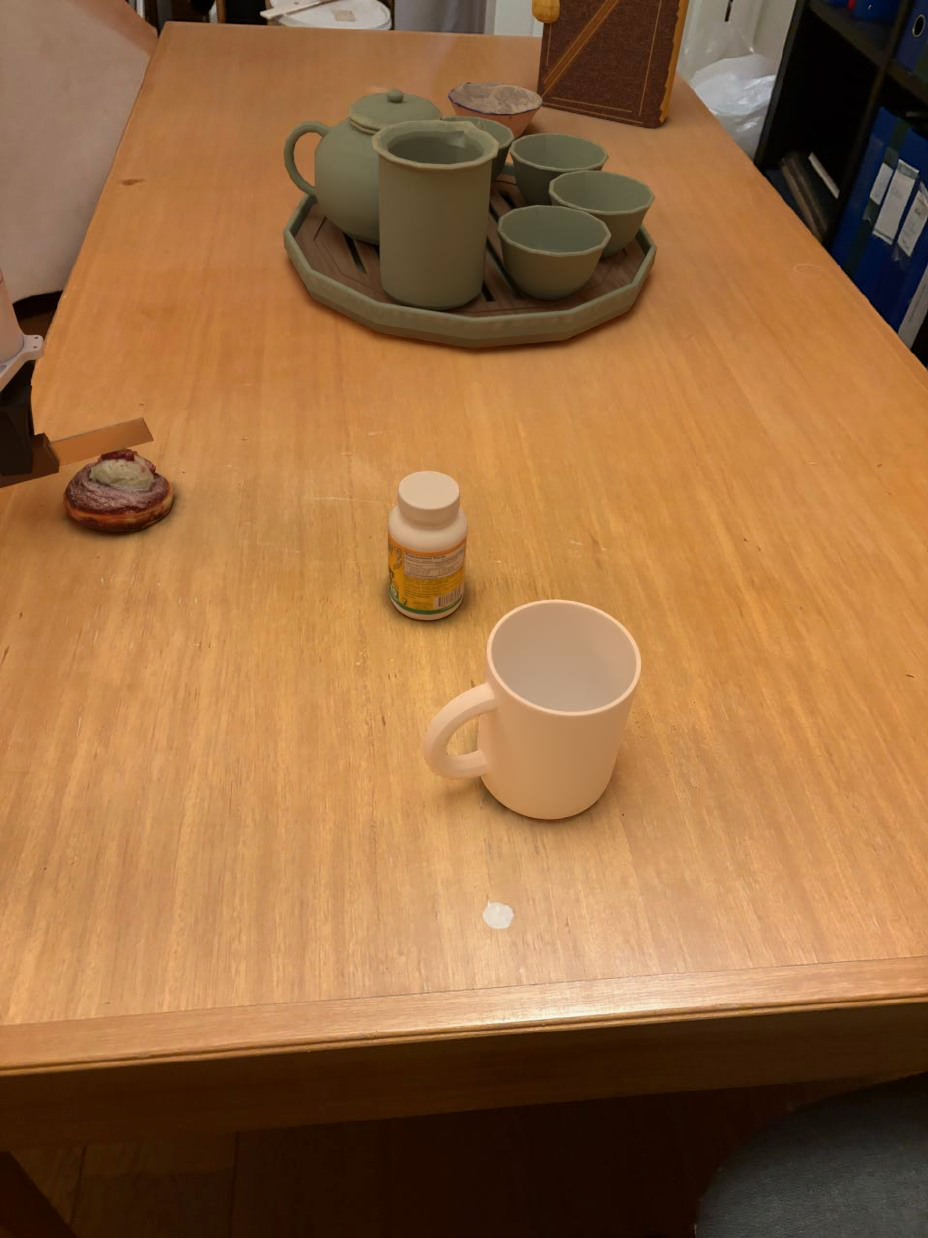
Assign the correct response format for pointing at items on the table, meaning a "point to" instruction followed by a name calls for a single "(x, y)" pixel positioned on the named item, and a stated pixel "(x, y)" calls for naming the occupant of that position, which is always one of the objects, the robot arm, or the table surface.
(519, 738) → the mug
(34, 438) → the knife
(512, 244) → the tea set
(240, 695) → the table surface
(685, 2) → the book
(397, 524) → the supplement bottle
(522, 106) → the bowl
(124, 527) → the pastry
